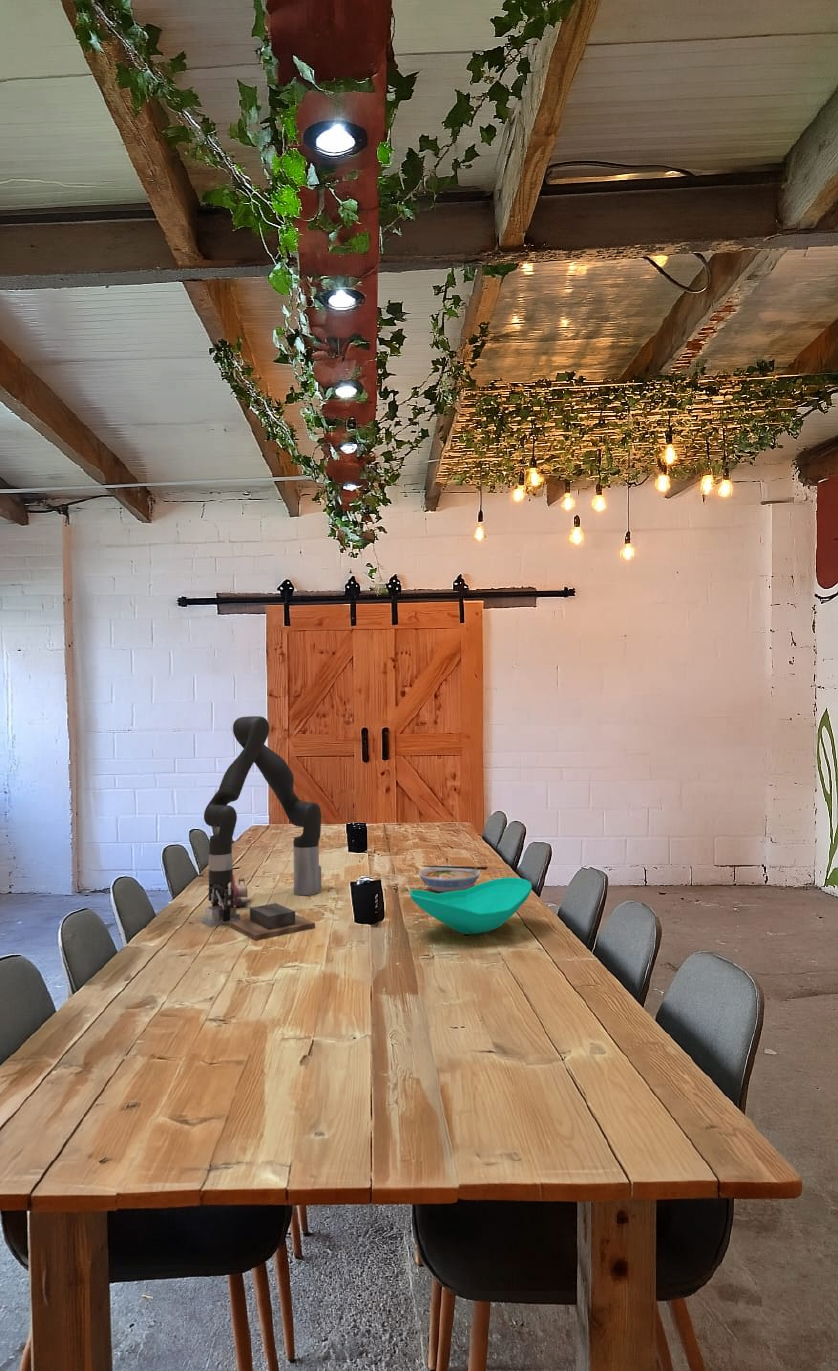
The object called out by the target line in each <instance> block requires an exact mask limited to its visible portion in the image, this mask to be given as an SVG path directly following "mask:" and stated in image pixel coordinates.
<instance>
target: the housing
mask: <svg viewBox="0 0 838 1371" xmlns="http://www.w3.org/2000/svg"><path fill="white" fill-rule="evenodd" d="M236 909H237V908H236V906H235V905H234V907H233V908H231V909H230V921H226V922H224V921H223V908H222V905H221V904H219V905H216V906H212V905H211V906H206V907H205V914H204V915H202V916H201V921H202V922H201V923H202V924H204V926H207V927H209V928H214V927H216V926H221V925H225V924H230V922H234V921H239V920H241V914H240V912H237V910H236Z"/></svg>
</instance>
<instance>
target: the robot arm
mask: <svg viewBox="0 0 838 1371" xmlns="http://www.w3.org/2000/svg"><path fill="white" fill-rule="evenodd" d="M232 732H233V736H234V738H235V740H236V741H237V742H238V743H239V745H240V746H241V748H243V749H242V750H241V752H240V753H239V755H237V757H236V758H235V759H234V761H233V762H232V763H231V764H230V765H229V766H228V767H227V769H226V771H225V772H224V774H223V777H222V779H221V782H220V784H219V787H218V790H217V791H216V793H215V794H214V795H213V797H212V798H211V799H210V801H209V803H208V804H207V806H206V807H205V810H204V811H203V812H204V813H203V820H204V822H205V824H206V825H207V826H209V827H214V828H219V830H218V833H216V834H212V835H211V836H210V837H209V841H208V844H209V845H208V850H209V851H208V852H209V854H208V901H209V902H210V904H211V906H216V905H221V904H222V908H223V921H224V922H226V921H230V909H231V908H233V907H234V900H233V889H230V887H229V884H231V882H232V881H233V875H234V872H233V870H234V868H233V867H234V866H233V864H234V861H233V854H232V853H233V849H232V848H233V844H232V843H233V842H232V841H233V836H234V834H235V829H236V826H237V825H236V824H237V821H238V816H237V815H238V814H237V811H236V809H235V807H233V805H228V804H230V803H232V802H236V801H238V799H239V798H240V795H241V793H242V789H243V787H244V785H245V782H246V779H247V776H248V774H249V772H250V770H251V768H252V767H253V764H255V766H256V767H257V769H258V770H259V771H260V773H261V774H262V776H263V778H264V780H265V781H266V782H267V784H268V786H269V787H270V788H271V791H273V793H274V795H275V796H276V798H277V800H278V801H279V803H280V804H281V807H282V809H283V810H284V813H285V815H286V817H287V818H288V820H289V822H290V824H292V825H293V826H295V827H298V828H299V827H300V828H302V829H303V830H302V834H301V835H298V836H296V837H295V838H293V844H292V845H293V894H295V896H296V895H297V896H313V895H317V894H318V893H322V865H320V842H319V841H320V838H321V831H322V829H321V828H322V811H321V807H320V806H319V804H318V803H316V802H312V801H311V802H310V801H302V800H300V799H299V797H298V796H297V795H296V793H295V791H294V784H295V782H294V781H295V778H294V773H293V772H292V770H291V768H290V766H289V765H288V763H287V762H286V761H285V758H283V757H281V756H280V755H279V754H278V753H276V751H274V750H272V749H271V748H270V747H268V746H267V745H265V743H266V741H267V739H268V736H269V734H270V724H269V722H268V720H267V719H266V718H265V717H264V716H261V715H259V716H258V715H257V716H256V715H253V716H251V715H250V716H249V715H248V716H241V717H239V718H237V719H235V721H234V722H233V725H232ZM230 901H231V903H230ZM224 903H225V904H224Z"/></svg>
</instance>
